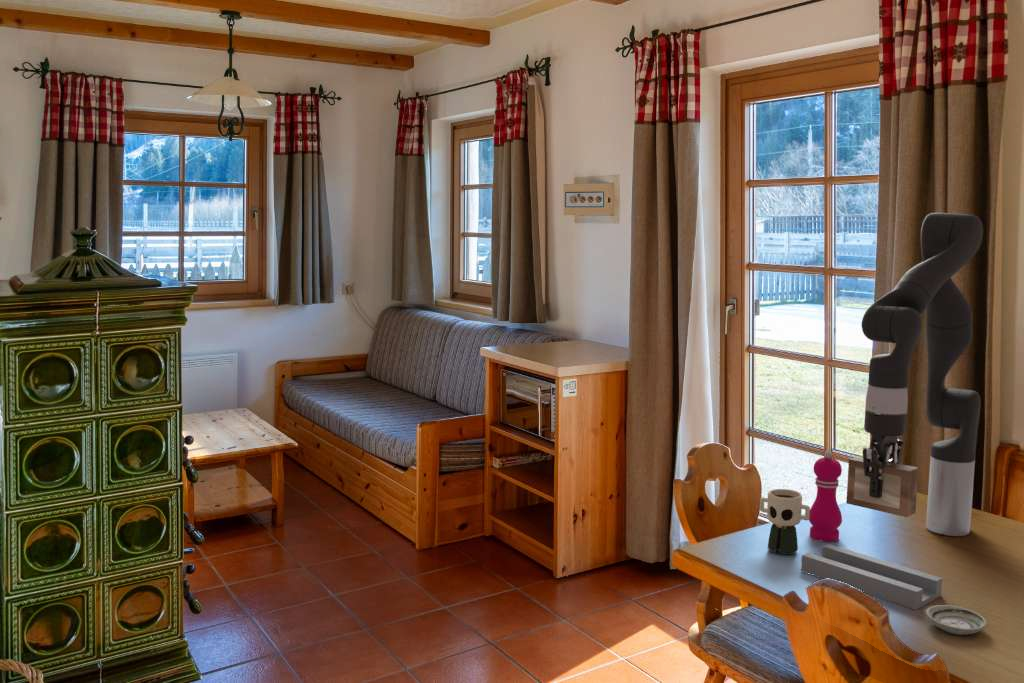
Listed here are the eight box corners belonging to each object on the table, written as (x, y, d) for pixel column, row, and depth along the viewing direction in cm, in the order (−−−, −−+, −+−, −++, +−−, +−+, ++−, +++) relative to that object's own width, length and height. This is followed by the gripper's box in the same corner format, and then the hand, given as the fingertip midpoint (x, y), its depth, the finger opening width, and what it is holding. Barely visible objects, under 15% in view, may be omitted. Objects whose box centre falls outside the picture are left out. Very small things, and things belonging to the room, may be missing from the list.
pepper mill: (843, 543, 202) (847, 456, 200) (809, 541, 204) (813, 454, 201) (838, 532, 209) (842, 448, 207) (805, 530, 211) (809, 446, 208)
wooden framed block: (855, 499, 184) (857, 456, 183) (915, 512, 176) (918, 467, 175) (845, 503, 181) (848, 459, 180) (906, 517, 173) (909, 471, 172)
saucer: (958, 646, 155) (959, 632, 154) (912, 622, 163) (913, 609, 163) (998, 635, 158) (999, 622, 158) (951, 613, 167) (952, 600, 167)
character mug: (752, 550, 198) (754, 493, 196) (763, 541, 204) (766, 485, 202) (802, 561, 192) (805, 502, 190) (812, 551, 197) (815, 493, 196)
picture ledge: (827, 559, 193) (828, 543, 192) (941, 595, 175) (942, 578, 174) (801, 571, 186) (801, 555, 186) (916, 610, 168) (917, 592, 168)
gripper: (882, 401, 184) (877, 484, 186) (850, 410, 174) (845, 497, 176) (920, 407, 179) (914, 492, 181) (890, 416, 169) (884, 506, 171)
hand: (880, 494), depth 178 cm, fingers closed on wooden framed block, 4 cm apart
